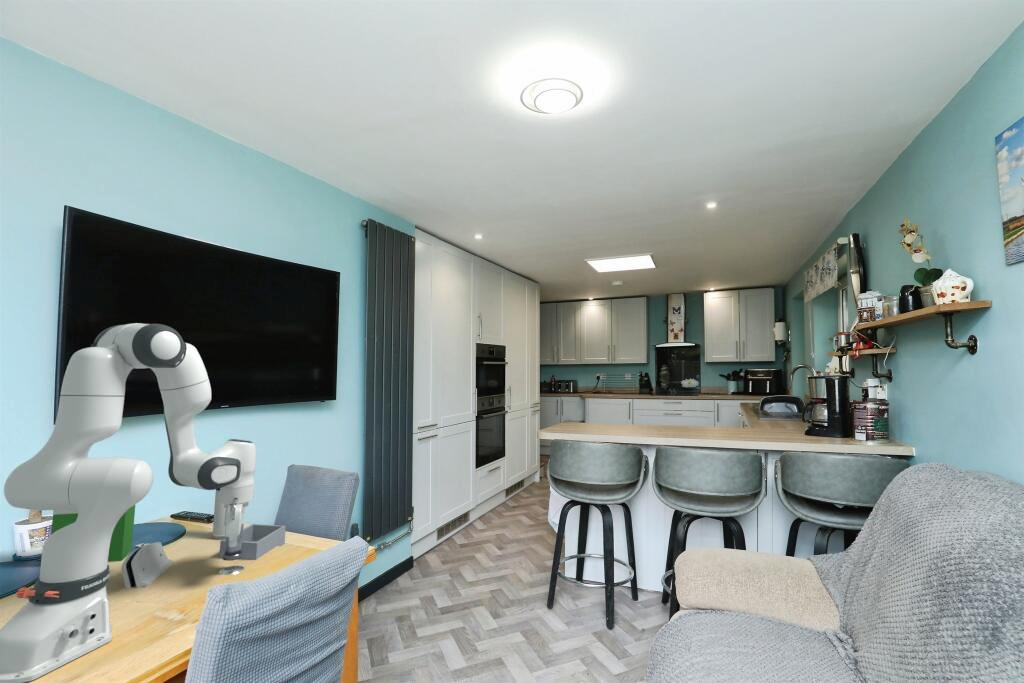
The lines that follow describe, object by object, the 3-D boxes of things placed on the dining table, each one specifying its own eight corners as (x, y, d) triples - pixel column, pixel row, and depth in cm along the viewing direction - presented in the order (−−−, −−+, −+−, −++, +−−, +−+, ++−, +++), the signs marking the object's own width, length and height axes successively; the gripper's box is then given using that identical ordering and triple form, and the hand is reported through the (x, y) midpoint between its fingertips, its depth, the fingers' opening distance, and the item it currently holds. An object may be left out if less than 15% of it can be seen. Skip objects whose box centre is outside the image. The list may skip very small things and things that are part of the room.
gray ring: (235, 579, 136) (235, 575, 136) (213, 577, 136) (213, 574, 136) (248, 569, 142) (249, 566, 142) (228, 568, 142) (228, 565, 142)
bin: (255, 563, 147) (257, 543, 147) (218, 560, 148) (220, 541, 148) (284, 543, 164) (285, 525, 164) (251, 541, 164) (252, 523, 165)
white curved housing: (148, 590, 127) (136, 555, 127) (128, 598, 126) (116, 562, 126) (175, 565, 143) (164, 533, 143) (157, 571, 142) (146, 540, 142)
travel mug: (216, 533, 171) (220, 477, 172) (236, 533, 172) (240, 477, 173) (207, 539, 165) (212, 481, 166) (227, 539, 165) (232, 481, 167)
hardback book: (47, 566, 139) (56, 483, 141) (61, 557, 146) (69, 477, 148) (121, 560, 145) (128, 480, 147) (131, 552, 152) (137, 475, 154)
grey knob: (242, 559, 138) (244, 527, 139) (221, 561, 136) (223, 529, 136) (243, 552, 143) (245, 522, 143) (223, 555, 140) (225, 523, 141)
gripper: (247, 502, 132) (243, 553, 132) (250, 486, 151) (247, 530, 150) (221, 504, 130) (217, 556, 129) (227, 487, 148) (224, 533, 147)
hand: (233, 542), depth 139 cm, fingers closed on grey knob, 4 cm apart
